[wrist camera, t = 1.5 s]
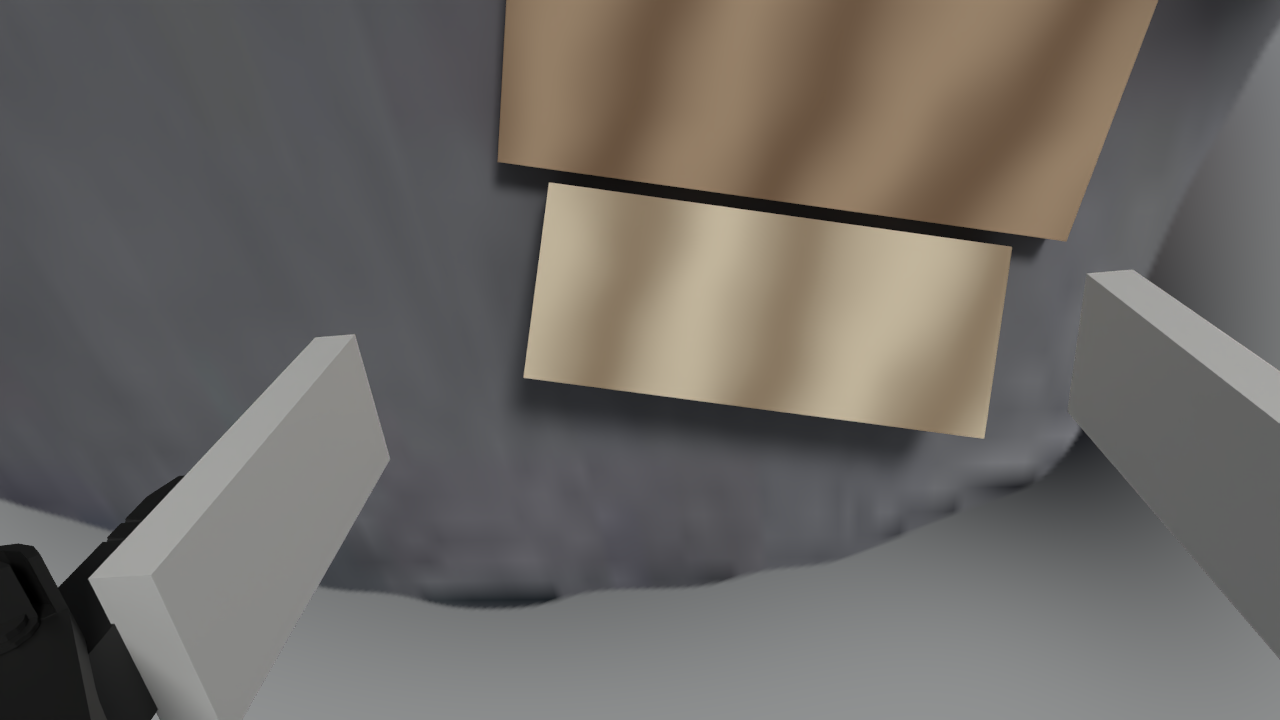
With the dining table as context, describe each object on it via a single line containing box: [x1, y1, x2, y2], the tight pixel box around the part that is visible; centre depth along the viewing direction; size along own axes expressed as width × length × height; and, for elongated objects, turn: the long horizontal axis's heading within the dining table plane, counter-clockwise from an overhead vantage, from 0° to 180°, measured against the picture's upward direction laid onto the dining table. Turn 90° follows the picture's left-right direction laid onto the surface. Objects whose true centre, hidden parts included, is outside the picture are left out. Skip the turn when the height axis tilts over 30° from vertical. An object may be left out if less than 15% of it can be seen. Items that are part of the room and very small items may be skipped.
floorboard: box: [498, 0, 1158, 241], centre depth 29 cm, size 22×12×2 cm, turn 82°
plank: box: [523, 182, 1012, 439], centre depth 32 cm, size 18×8×2 cm, turn 82°
